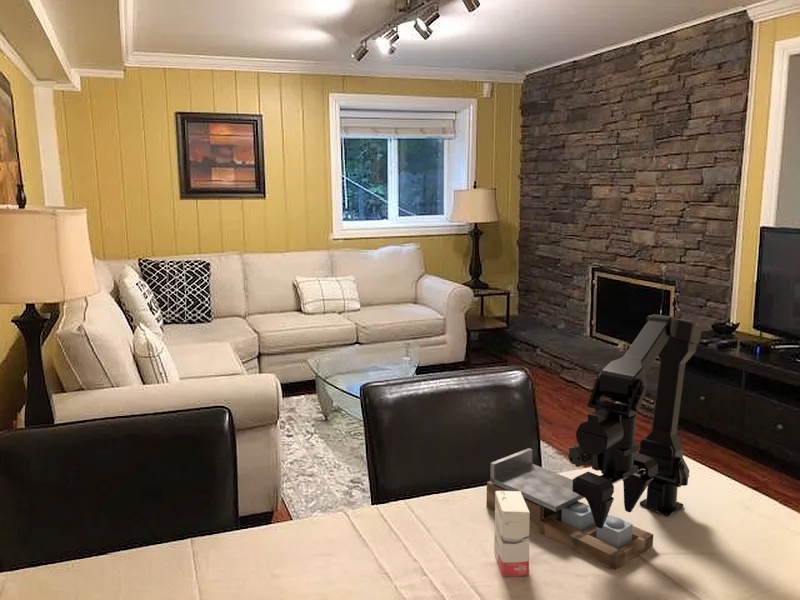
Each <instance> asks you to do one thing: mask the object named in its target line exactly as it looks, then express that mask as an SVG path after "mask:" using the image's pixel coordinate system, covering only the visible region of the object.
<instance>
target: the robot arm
mask: <svg viewBox="0 0 800 600" xmlns="http://www.w3.org/2000/svg"><path fill="white" fill-rule="evenodd" d="M701 336H702V330H701V328H700V326H698V325H697V324H696V320H693V319H692V320H691V319H690V320H689V319H682V318H676V317H673V316H670V315H669V316H668V315H662V314H654V313H653V314H651V315H650V314H649V315H648V316H647V317H646V319H645V323H644V326H643V328H642V329H641V330H640V331H639V332H638V335H637V336H636V338H635V339H634V341H632V344H630V346H629V347H628V348H627V351H626V352H625V353H624V354H623V356H622V357H620V358H616V359H614V360H611V361H610V362H608V364H607V365H605V367H604V368H603V369H602V370H601V371H600V373H599V374H597V378H596V380H595V383H594V386H593V389H592V392H591V394H590V397H589V399H588V403H587V406H586V407H587V408H588V409H592V410H594V411H593V412H590V413H588V415H587V420H585V421H583V422H582V423H581V424H579V425H578V427H577V430H576V431H575V438H576V443H577V444H578V445H572V446H570V447H569V449H568V455H567V456H568V457H567V459H568V460H569V463H570V464H572V465H574V467H577V468H580V467H582V466H583V467H584V466H591V469H592V470H594V471H598V472H599V471H600V472H601V475H599V474H596V473H594V472H593V473H592V472H590V471H587V472H584V473H581V474H579V475H578V476H575V477H574V478H572V491H573V492H575V493H577V494H579V495H580V496H583V497H585V498H584V499H585V500H586V501H587V505H588V506H590V509H591V512H592V515H593V518H594V522H595V525H596V527H598V528H600V529H601V528H602V527H603V525H604V523H605V521H606V518H607V515H609V513H610V511H611V507H612V504H613V502H614V497H613V495H614V493H615V491H614V490H615V486H614V485H615V484H617V483H618V482H620V481H622V483H623V504H624V511H625V512H627V513H631V512H633V509H634V508H635V506H636V504H637V503H638V501H639V499H640V498H641V497H642V495H643V493H645V490H646V498H645V499H642V500H640V501H639V505H640V506H642V507H644V508H647V509H648V510H649V509H650V510H652V511H654V512H657V513H659V514H662V515H664V516H670V515H672V514H674V513H676V512H677V511H679V510H680V509H682V508H684V504H683V503H682V502H680V501H677V500H678V488H681V487H682V486H684V487H685V486H688V482H689V478H690V468H689V466H688V464H687V462H686V461H685V459H684V458H683V457H684V446H683V444H682V442H681V440H680V437H679V436H678V433H677V432H678V427H679V426H678V424H679V418H680V408H681V401H682V394H683V393H682V392H683V385H684V377H685V370H686V363H687V362H688V361H689V360H690V359H691V358H692V357H693V355H694V354H695V353H696V352H697V346H698V344H699V343H700V340H701ZM657 358H658V359H659V370H658V376H657V385H656V393H655V400H654V408H653V417H652V424H651V425H652V426H651V431H650V432H649V433H648V435H647V436H645V438H643V439H641V441H640V444H639V443H636V430H637V429H636V425H637V413H638V412H639V409H640V407H641V405H642V403H643V400H644V398H645V396H646V393H647V380H646V375H647V373H648V371H649V370H650V369H651V367H652V365H653V364H654V362H655V361H656V359H657ZM601 398H602V399H603V400H602V399H601ZM604 399H605V400H604ZM608 400H609V401H608ZM612 401H614V402H612Z"/></svg>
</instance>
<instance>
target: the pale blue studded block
mask: <svg viewBox="0 0 800 600" xmlns="http://www.w3.org/2000/svg"><path fill="white" fill-rule="evenodd" d="M561 522H562V523H564V524H566V525H569V526H571V527H573V528H575V529H577V530H579V531H581V532H583V531H585V530H587V529H589V528H591V527H592V526H594V525H595V522H594V518H593V515H592V512H591V509H590V506H589V504H586V503H584V502H581V501H580V500H579V501H577V502H575V503H573V504H570V505H568V506H566V507H564V508H562V518H561Z"/></svg>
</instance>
